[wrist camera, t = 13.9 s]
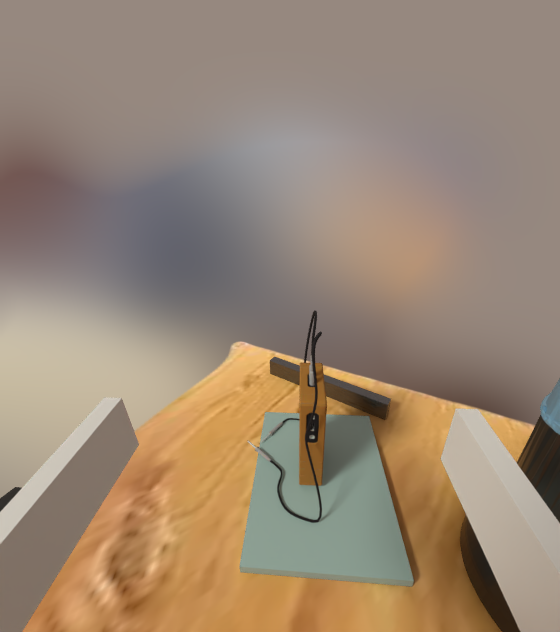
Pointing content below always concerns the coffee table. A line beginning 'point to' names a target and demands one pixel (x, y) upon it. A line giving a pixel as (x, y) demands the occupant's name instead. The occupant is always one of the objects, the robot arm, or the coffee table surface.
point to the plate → (324, 509)
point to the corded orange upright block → (308, 424)
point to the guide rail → (336, 389)
